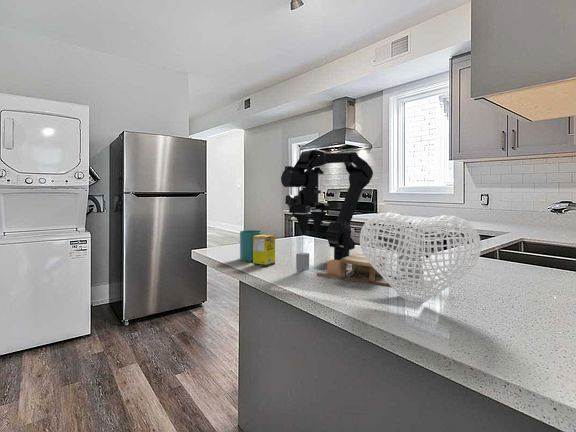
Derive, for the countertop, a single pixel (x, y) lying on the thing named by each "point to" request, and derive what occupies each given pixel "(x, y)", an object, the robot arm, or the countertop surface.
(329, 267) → the block
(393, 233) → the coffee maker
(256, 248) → the supplement box
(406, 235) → the heart
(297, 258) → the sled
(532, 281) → the countertop surface
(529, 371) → the countertop surface
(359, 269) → the tunnel channel
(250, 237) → the cup
